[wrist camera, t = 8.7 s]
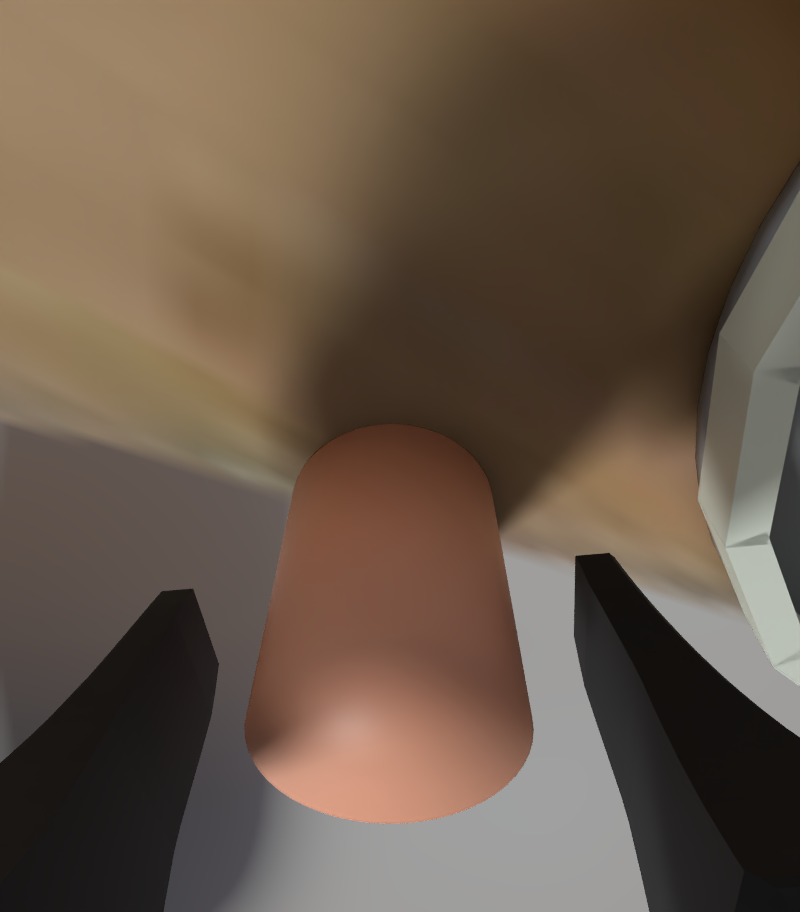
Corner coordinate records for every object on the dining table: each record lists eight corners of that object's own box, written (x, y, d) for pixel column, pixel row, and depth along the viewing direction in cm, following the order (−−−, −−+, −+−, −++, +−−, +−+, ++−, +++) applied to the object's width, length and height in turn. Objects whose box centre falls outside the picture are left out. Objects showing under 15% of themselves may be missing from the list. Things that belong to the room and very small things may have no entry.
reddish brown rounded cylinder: (488, 414, 15) (531, 625, 10) (496, 578, 18) (535, 815, 13) (273, 434, 16) (214, 649, 11) (310, 593, 18) (275, 830, 13)
